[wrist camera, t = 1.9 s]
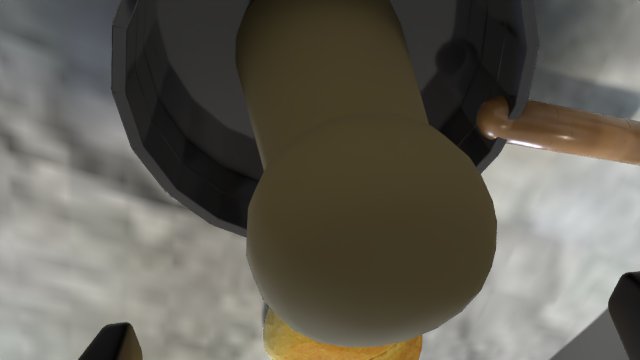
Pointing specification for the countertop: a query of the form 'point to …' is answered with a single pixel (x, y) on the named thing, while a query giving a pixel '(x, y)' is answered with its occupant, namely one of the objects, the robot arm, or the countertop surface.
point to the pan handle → (562, 130)
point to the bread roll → (327, 346)
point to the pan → (230, 106)
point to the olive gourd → (354, 179)
